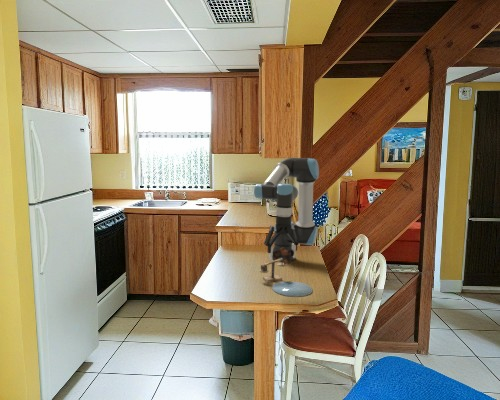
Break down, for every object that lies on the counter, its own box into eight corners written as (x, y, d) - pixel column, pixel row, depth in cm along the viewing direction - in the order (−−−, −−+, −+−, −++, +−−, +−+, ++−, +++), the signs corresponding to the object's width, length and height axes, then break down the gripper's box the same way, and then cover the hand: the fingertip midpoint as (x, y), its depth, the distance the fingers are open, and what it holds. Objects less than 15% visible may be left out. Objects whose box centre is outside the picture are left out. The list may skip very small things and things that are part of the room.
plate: (299, 280, 219) (299, 279, 219) (320, 293, 201) (320, 292, 201) (265, 284, 211) (265, 283, 211) (284, 298, 193) (284, 297, 193)
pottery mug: (280, 267, 195) (273, 251, 196) (272, 270, 203) (265, 255, 204) (300, 258, 200) (293, 242, 201) (291, 261, 209) (285, 246, 210)
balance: (283, 276, 224) (284, 256, 223) (287, 279, 220) (288, 259, 218) (257, 279, 218) (257, 259, 216) (261, 282, 213) (262, 261, 212)
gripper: (301, 213, 208) (299, 254, 211) (258, 215, 199) (256, 258, 202) (309, 215, 201) (307, 258, 204) (264, 218, 192) (262, 262, 195)
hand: (282, 258), depth 203 cm, fingers closed on pottery mug, 12 cm apart
